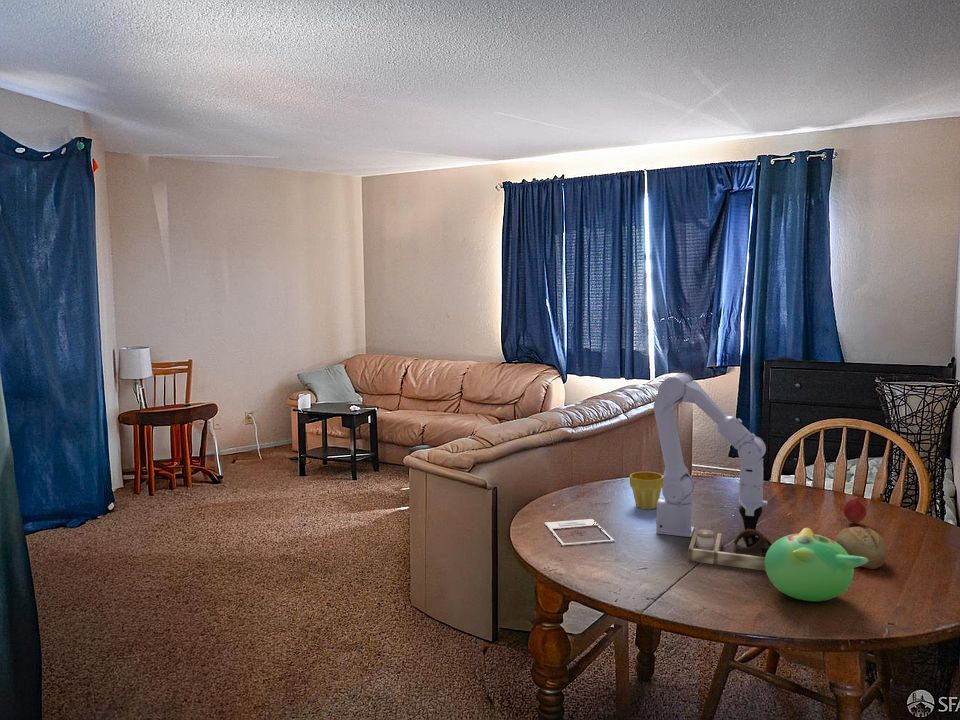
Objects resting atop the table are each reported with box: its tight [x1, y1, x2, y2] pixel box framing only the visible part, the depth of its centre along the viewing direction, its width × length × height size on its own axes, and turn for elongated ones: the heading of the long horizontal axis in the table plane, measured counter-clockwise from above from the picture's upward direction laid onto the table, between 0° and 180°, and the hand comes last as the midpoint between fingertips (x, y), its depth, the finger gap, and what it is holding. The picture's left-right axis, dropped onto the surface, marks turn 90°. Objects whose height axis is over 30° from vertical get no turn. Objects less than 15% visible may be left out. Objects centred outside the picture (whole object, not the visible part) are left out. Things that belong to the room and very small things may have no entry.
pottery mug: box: [733, 528, 773, 557], centre depth 181 cm, size 12×10×8 cm
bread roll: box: [835, 526, 887, 570], centre depth 178 cm, size 10×15×8 cm, turn 1°
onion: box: [842, 496, 868, 525], centre depth 203 cm, size 6×6×8 cm
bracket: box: [687, 529, 766, 572], centre depth 182 cm, size 22×14×3 cm, turn 68°
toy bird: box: [764, 527, 868, 602], centre depth 157 cm, size 18×17×15 cm
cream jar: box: [696, 529, 715, 551], centre depth 184 cm, size 4×4×6 cm
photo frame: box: [544, 518, 615, 547], centre depth 201 cm, size 15×1×18 cm
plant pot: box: [629, 471, 664, 510], centre depth 223 cm, size 10×10×10 cm
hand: (750, 534), depth 189 cm, fingers closed
